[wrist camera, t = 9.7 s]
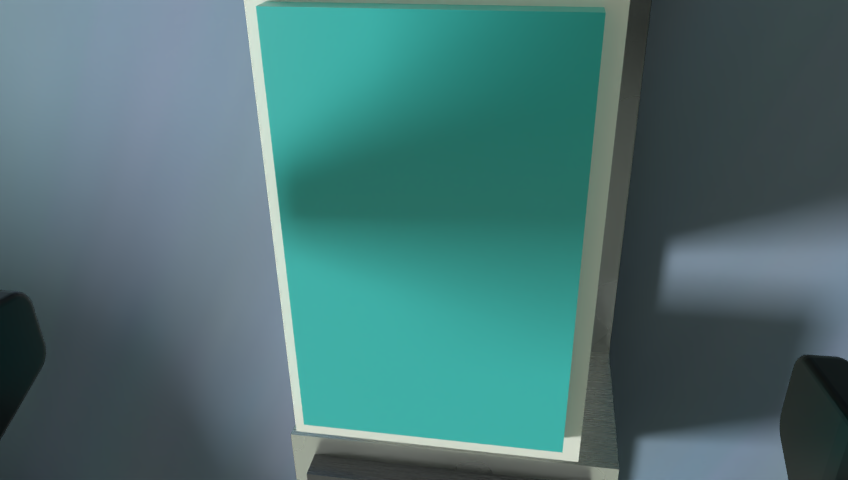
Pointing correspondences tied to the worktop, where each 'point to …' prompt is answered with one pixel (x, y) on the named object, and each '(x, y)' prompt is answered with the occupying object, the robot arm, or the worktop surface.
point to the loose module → (439, 211)
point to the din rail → (621, 169)
